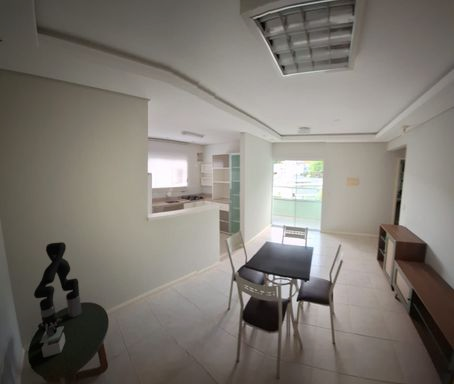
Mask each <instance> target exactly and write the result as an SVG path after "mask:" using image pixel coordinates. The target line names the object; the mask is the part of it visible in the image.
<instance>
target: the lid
mask: <svg viewBox="0 0 454 384" xmlns="http://www.w3.org/2000/svg"><path fill="white" fill-rule="evenodd" d="M64 327H65V326H64V325H63V326H60V327H58V328H57V332H56V333H55V334H54V329H53V327H52V326H50V327H49V329H48V330H47V333H48V335H47V333H46V332H45V333H44V332H43V334H44V335H42V337H41V339H40V341H39V344H42V343H43V344H44V343H46V342H49V341H53V340H57V339H58V338H59V336H60V334H61V333H63V332H62V331H63V330H64Z"/></svg>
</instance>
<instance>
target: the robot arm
mask: <svg viewBox="0 0 454 384" xmlns="http://www.w3.org/2000/svg"><path fill="white" fill-rule="evenodd" d="M66 247H67V246H66V243H65V242H62V241H60V242H51V243H48V244H47V245H46V247H45V251H46V255H47V257H48V258H49V259H50V261H51V263H49V264H48V266H47V267H46V268H45V269H44V271H43V275H42V277H41V280H40V282H39V284H38V285H37V287H36V289H35V291H34V294H33V296H34V298H35V299H42V300H40V302H39V308H40V316H41V322H40V323H39V324H38V325H37V327H38V329H40V330H41V332H43V333H44V331H46V333H47V330H48V329H49V326H52V327H53V329H54V334H55V333H56V332H57V328H58V327H59V326H60V324H61V322H62V320H63V319H62V317H60V318H58V317H57V314H56V313H57V312H56V307H55V304H54V295H55V287H54V286H53V285H49V284H52V283H53V282H54V281H55V278H56V275H57V276H58V279H59V282H60V286H61V289H62V291H63V292H68V293H67V294H66V296H65V299H66V304H67V311H68V317H69V318H74V317H77V316H79V315H80V314H82V311H83V310H82V305H81V303H82V302H81V297H80V288H79V280H78V278H70V279H67V277H68V275H69V274H70V272H71V266H70V263H69V261H67V260H66V259H65V258H63V256H64V255H65V253H66ZM47 285H48V286H47ZM56 324H57V325H56ZM47 335H48V333H47Z"/></svg>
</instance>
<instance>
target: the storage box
mask: <svg viewBox="0 0 454 384" xmlns="http://www.w3.org/2000/svg"><path fill="white" fill-rule="evenodd" d="M65 343H66V337H65V332H61V334H60V336H59V338H58V339H57V340H53V341H49V342H46V343H43V344H42V347H41V352H42V357H44V358H47V357H51V356H54V355H57V354H62V351H63V349H64V345H65Z"/></svg>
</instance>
